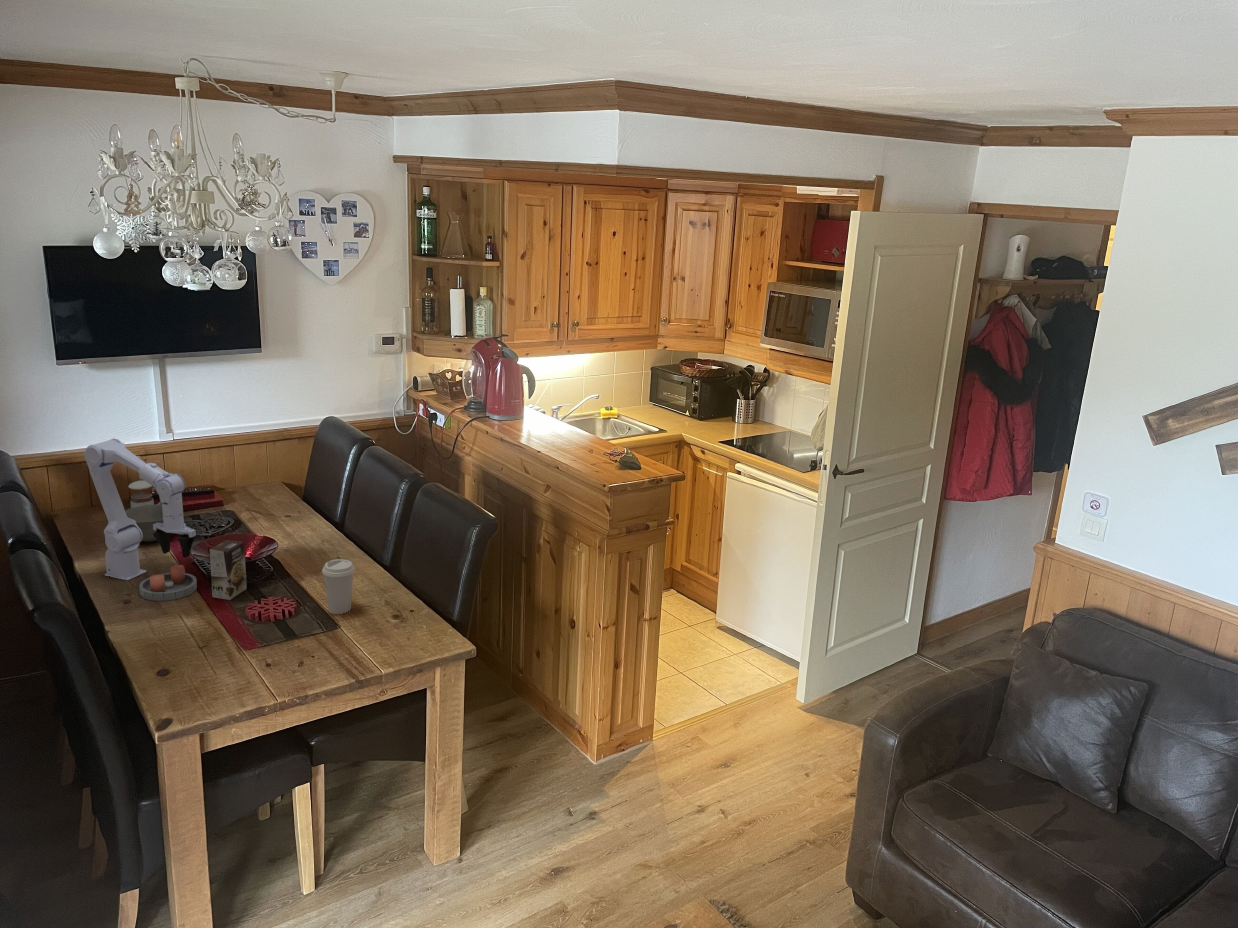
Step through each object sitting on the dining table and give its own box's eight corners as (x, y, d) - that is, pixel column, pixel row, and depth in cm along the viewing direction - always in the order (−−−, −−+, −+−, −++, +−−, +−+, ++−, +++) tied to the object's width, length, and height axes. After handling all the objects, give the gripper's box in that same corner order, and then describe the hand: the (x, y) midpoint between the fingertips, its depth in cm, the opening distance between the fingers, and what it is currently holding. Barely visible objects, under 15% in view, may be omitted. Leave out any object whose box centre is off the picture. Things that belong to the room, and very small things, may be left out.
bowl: (186, 543, 322) (184, 516, 319) (126, 552, 312) (123, 524, 309) (176, 526, 337) (174, 501, 334) (118, 534, 326) (116, 508, 324)
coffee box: (230, 600, 282) (227, 551, 277) (211, 597, 283) (208, 548, 278) (247, 588, 290) (245, 541, 286) (229, 586, 291) (226, 538, 287)
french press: (129, 516, 343) (123, 453, 336) (164, 514, 348) (158, 451, 341) (128, 525, 335) (122, 460, 328) (163, 522, 340) (158, 458, 333)
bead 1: (148, 593, 280) (146, 578, 279) (157, 588, 284) (156, 573, 283) (158, 595, 279) (157, 580, 278) (168, 590, 283) (167, 575, 282)
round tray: (127, 595, 281) (127, 587, 280) (167, 576, 295) (166, 569, 295) (170, 604, 276) (169, 597, 276) (208, 585, 291) (207, 577, 290)
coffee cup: (346, 600, 286) (345, 555, 282) (361, 610, 280) (360, 565, 276) (317, 608, 280) (316, 562, 276) (332, 619, 273) (331, 573, 269)
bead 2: (168, 583, 288) (167, 568, 287) (178, 578, 292) (176, 564, 290) (179, 585, 287) (177, 570, 286) (188, 580, 291) (187, 566, 289)
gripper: (201, 513, 285) (204, 553, 288) (163, 506, 289) (167, 546, 292) (184, 520, 278) (188, 561, 282) (146, 513, 282) (150, 553, 286)
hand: (176, 554), depth 287 cm, fingers open, 7 cm apart
